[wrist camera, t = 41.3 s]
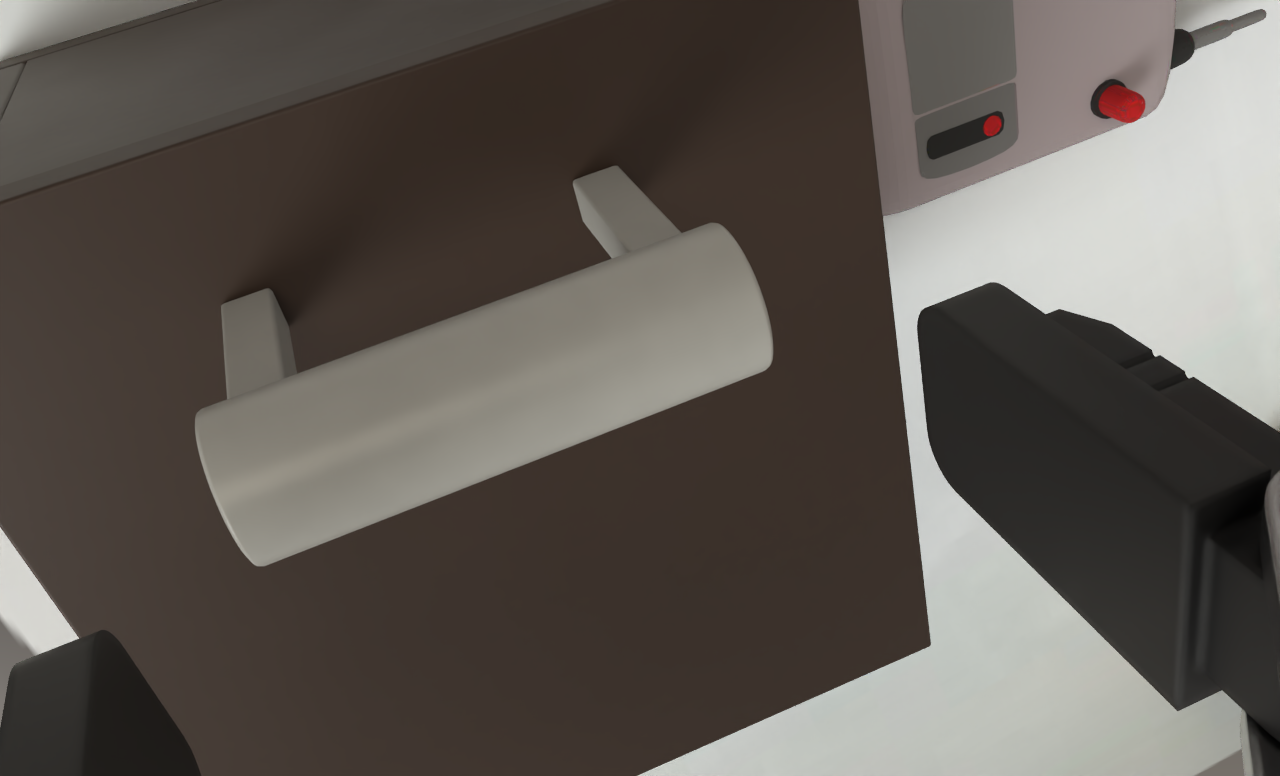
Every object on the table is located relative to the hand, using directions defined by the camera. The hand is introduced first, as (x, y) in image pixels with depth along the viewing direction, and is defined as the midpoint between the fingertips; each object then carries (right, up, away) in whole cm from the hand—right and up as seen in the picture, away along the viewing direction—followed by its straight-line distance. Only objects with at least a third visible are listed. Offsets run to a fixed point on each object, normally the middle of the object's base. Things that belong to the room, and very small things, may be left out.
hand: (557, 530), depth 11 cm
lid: (-1, 0, +8) cm, 8 cm away
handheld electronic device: (+11, +11, +21) cm, 26 cm away
